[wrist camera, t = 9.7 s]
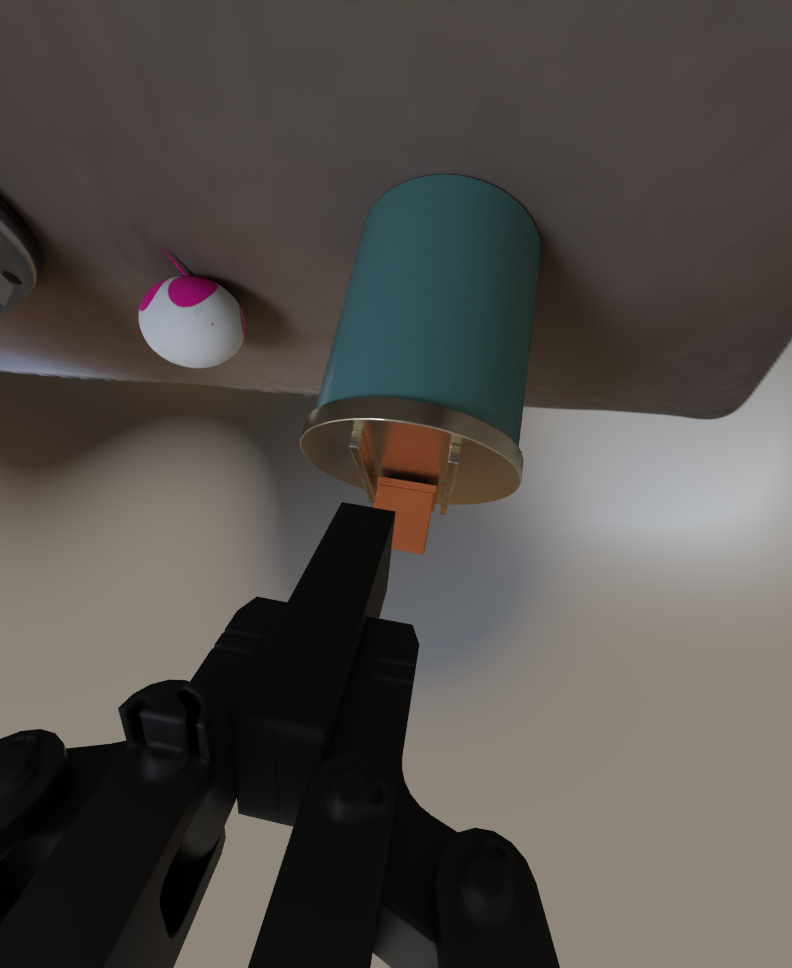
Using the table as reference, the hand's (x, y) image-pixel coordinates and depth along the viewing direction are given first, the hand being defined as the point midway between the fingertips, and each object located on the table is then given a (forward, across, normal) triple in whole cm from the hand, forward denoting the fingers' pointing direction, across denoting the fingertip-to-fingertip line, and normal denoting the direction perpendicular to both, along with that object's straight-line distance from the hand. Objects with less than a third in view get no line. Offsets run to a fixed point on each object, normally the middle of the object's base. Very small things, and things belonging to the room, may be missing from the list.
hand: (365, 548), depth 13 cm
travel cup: (+19, 0, +7) cm, 20 cm away
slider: (+11, 0, -4) cm, 12 cm away
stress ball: (+23, -17, +4) cm, 29 cm away
